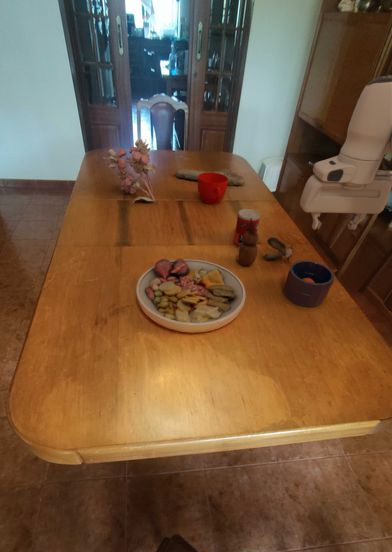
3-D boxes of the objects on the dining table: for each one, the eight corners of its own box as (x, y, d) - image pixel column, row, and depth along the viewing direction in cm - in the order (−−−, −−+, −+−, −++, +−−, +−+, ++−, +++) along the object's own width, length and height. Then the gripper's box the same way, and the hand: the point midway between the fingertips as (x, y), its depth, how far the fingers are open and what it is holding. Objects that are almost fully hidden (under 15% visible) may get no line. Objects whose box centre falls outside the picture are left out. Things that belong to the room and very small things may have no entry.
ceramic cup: (202, 212, 133) (204, 187, 126) (193, 196, 144) (194, 172, 137) (231, 211, 136) (235, 186, 129) (220, 195, 147) (223, 172, 140)
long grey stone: (178, 175, 165) (173, 183, 159) (177, 164, 161) (173, 171, 155) (245, 180, 161) (243, 188, 155) (246, 169, 157) (245, 177, 151)
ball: (309, 288, 99) (314, 274, 95) (314, 298, 95) (319, 284, 92) (293, 288, 98) (297, 274, 95) (298, 298, 95) (303, 284, 91)
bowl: (263, 305, 92) (269, 283, 86) (189, 357, 76) (191, 333, 71) (191, 262, 105) (192, 240, 100) (115, 298, 90) (112, 275, 84)
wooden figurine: (236, 257, 109) (243, 214, 99) (252, 259, 110) (262, 216, 99) (237, 268, 105) (245, 224, 94) (254, 269, 105) (264, 226, 94)
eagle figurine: (288, 249, 114) (264, 242, 113) (297, 239, 107) (272, 231, 106) (284, 268, 112) (260, 261, 111) (293, 260, 105) (268, 252, 104)
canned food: (237, 249, 114) (242, 219, 106) (230, 238, 119) (235, 208, 111) (257, 248, 115) (263, 218, 107) (250, 237, 120) (255, 208, 112)
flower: (169, 185, 147) (143, 125, 131) (173, 200, 130) (143, 133, 114) (131, 205, 150) (101, 149, 134) (131, 221, 134) (96, 159, 117)
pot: (316, 282, 102) (325, 260, 96) (330, 307, 93) (341, 285, 88) (278, 282, 101) (285, 260, 95) (289, 307, 92) (297, 284, 86)
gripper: (392, 166, 74) (366, 224, 84) (307, 163, 72) (291, 222, 82) (406, 175, 70) (377, 235, 80) (317, 172, 68) (298, 234, 78)
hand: (333, 228), depth 81 cm, fingers open, 8 cm apart
